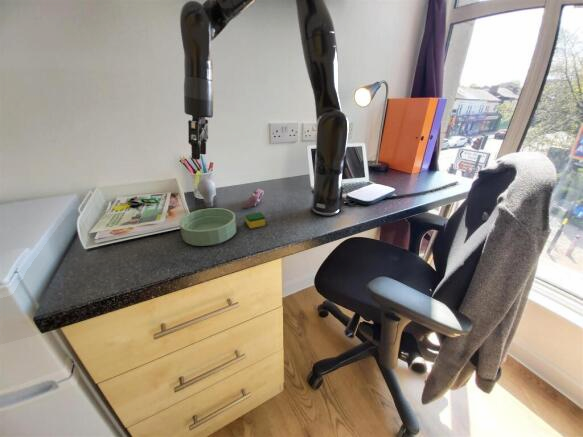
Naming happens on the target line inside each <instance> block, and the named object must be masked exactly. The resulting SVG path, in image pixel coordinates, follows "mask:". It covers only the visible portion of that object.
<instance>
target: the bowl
mask: <svg viewBox="0 0 583 437" xmlns="http://www.w3.org/2000/svg"><path fill="white" fill-rule="evenodd" d="M178 224H179V230H180V233H181V239H182V240H183V241H184V242H185V243H186V244H189V245H190V246H191V245H192V246H197V247H204V246H206V247H207V246H214V245H218V244H222V243H224V242H226V241H228V240H230V239H231V238H232V237H234V236H235V234H236V233H237V229H238V227H237V218H236V214H235V212H234V211H232V210H230V209H226V208H223V207H220V208H219V207H211V208H208V207H207V208H203V209H198V210H194V211H191V212H189V213H187V214H185V215H184V216H182V217H181V218H180V220H179V221H178Z"/></svg>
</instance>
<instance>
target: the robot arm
mask: <svg viewBox="0 0 583 437" xmlns="http://www.w3.org/2000/svg"><path fill="white" fill-rule="evenodd" d="M255 2H256V0H205V1H204V2H203V3H201V2H199V1H197V0H188V1H185V3H184V4H183V5H182V7H181V9H180V12H179V13H180V14H179V27H180V35H181V43H182V50H183V55H184V56H183V57H184V58H183V70H184V71H183V72H184V74H183V76H184V78H183V79H184V80H183V104H184V105H183V107H184V111H183V112H184V114H186V115H188V116H191V120H190V119H189V120H188V122H187V124H188V144H189V145H190V146H191V147H190V148H191V159H192V160H199V161H200V159H201V155H207V142H208V140H209V119H212V118H213V117H214V87H213V86H214V84H213V82H214V81H213V79H214V78H213V77H214V76H213V74H214V73H213V72H214V70H213V69H214V67H213V65H214V64H213V58H212V55H211V42H212V41H214V40H215V39H216V38H217V37H218V36H219V35H220V34H221V32H222V31H223V30H224V29H225V28H226V27H227V26H228V24H230V22H231V21H233V20H234V19H236V18H237V17H238V16H240V15H241V14H242V13H243V12H245V11H246V10H247V9H248V8H249V7H250V6H252V5H253V4H254V3H255ZM295 6H296V14H297V21H298V22H297V23H298V28H299V36H300V42H301V43H300V44H301V49H302V55H303V59H304V63H305V68H306V72H307V76H308V79H309V83H310V87H311V89H312V94H313V98H314V106H315V118H316V119H315V120H316V123H315V124H316V145H315V155H314V156H315V158H314V175H313V176H314V177H313V178H314V179H313V198H312V199H313V200H312V212H313V213H314V214H316V215H319V216H322V217H323V216H324V217H333V216H336V215H338V214H339V213H340V212H342V206H344V205H345V203H346V205H347V206H349V207H353V206H355V205H357V204H358V203H357V202H353V203H350V200H348V199H347V198H346V197H345V196H343V195H344V194H343V193H344V186H343V184H342V181H343V170H344V163H345V157H346V154H347V146H348V139H349V138H348V137H349V119H348V117H347V115H346V114H345V113H344V111H343V110H342V107H341V106H342V105H341V101H340V96H339V91H338V90H339V89H338V78H339V76H338V74H339V62H338V59H339V58H338V45H337V38H336V31H335V24H334V21H333V19H332V15H331V13H330V11H329V9H328V5H327V4H326V1H325V0H295ZM206 118H208V119H206ZM458 183H459V181H454V182H451V183H447V184H445V185H442V186H440V187H439V186H438V187H435V188H431V189H428V190H423V191H417V192H411V193H404V194H395V195H390V196H386V197H385V198H384V199H383V200H385V199H386V200H387V199H395V198H404V197H411V196H417V195H423V194H428V193H431V192H435V191H439V190H442V189H446V188H448V187H450V186H453V185H456V184H458Z"/></svg>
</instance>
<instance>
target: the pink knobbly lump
mask: <svg viewBox="0 0 583 437" xmlns="http://www.w3.org/2000/svg"><path fill="white" fill-rule="evenodd" d="M264 193H265V190H263V189H261V188H258V189H255V190H253V192H252V194H251V195H250V197H249V198H248V199H247V200H246V201H245V202H244V203H243V204H242V207H243V208H244V209H250V208H251V207H256V205H257V204H259V203H260V202H261V198H262V197H263V195H264Z"/></svg>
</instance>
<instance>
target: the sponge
mask: <svg viewBox="0 0 583 437" xmlns="http://www.w3.org/2000/svg"><path fill="white" fill-rule="evenodd" d="M245 222H246V225H247V226H248V227H249V229H255V228H259V227H265V226H266V217H265V215H264V214H263V213H262V212H261V211H259V212H254V213H253V212H252V213H248V214H245Z"/></svg>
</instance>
